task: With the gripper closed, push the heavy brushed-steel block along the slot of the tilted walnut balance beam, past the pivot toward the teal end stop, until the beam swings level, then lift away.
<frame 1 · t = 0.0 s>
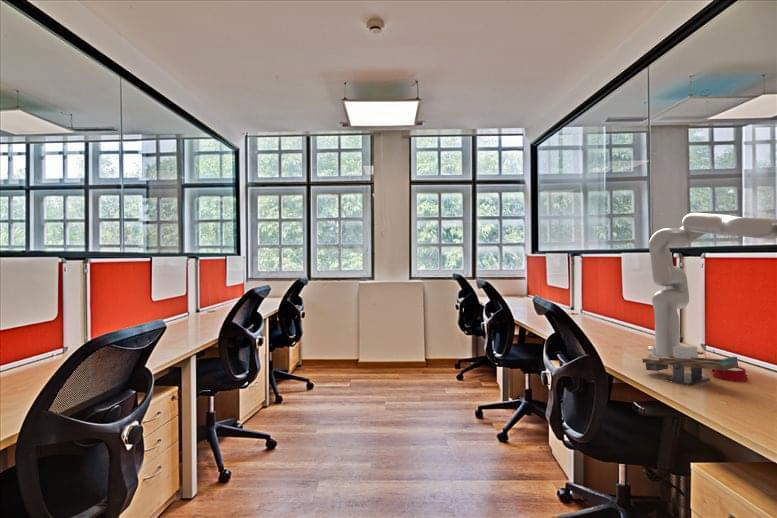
beam: (687, 363, 159), point 6 cm above the table, hinge at -6.2°, touching rider
rider: (686, 360, 159), point 7 cm above the table, tilted 6°, touching beam
stand: (687, 380, 159), on the table
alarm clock: (728, 377, 163), on the table
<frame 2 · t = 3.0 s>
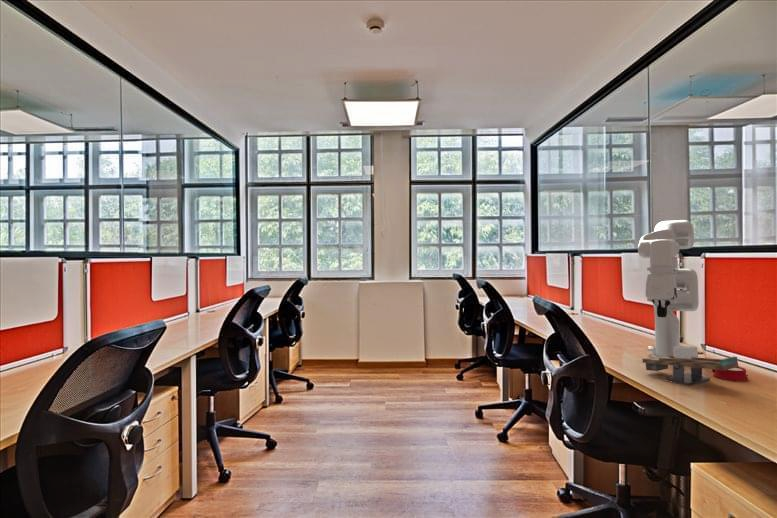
hand: (661, 316, 167), 23 cm above the table, tool pointing down, fingers closed
nothing on the table moved.
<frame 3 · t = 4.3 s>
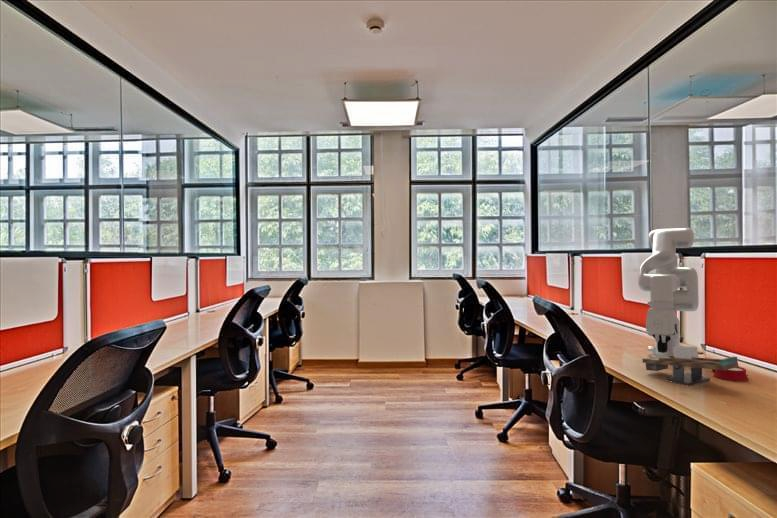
hand: (662, 352, 166), 9 cm above the table, tool pointing down, fingers closed
nothing on the table moved.
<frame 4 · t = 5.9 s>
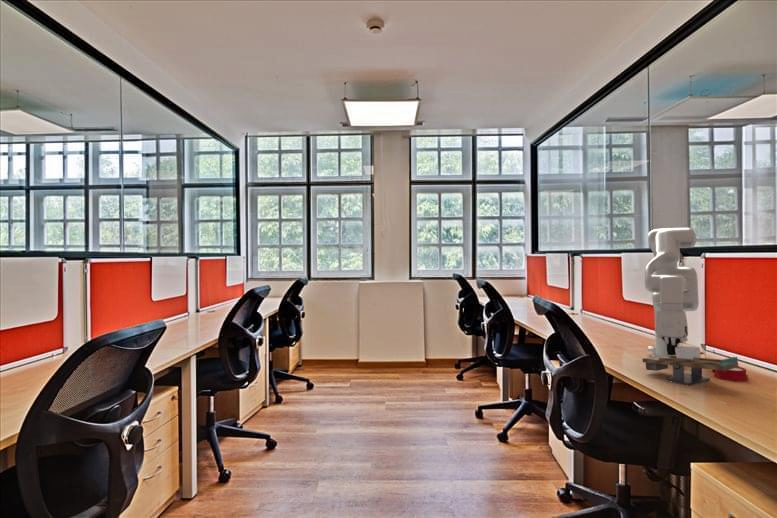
hand: (672, 354, 163), 9 cm above the table, tool pointing down, fingers closed
beam: (687, 363, 159), point 6 cm above the table, hinge at -5.6°, touching rider
rider: (688, 360, 158), point 8 cm above the table, tilted 6°, touching beam, gripper
everything else where it was.
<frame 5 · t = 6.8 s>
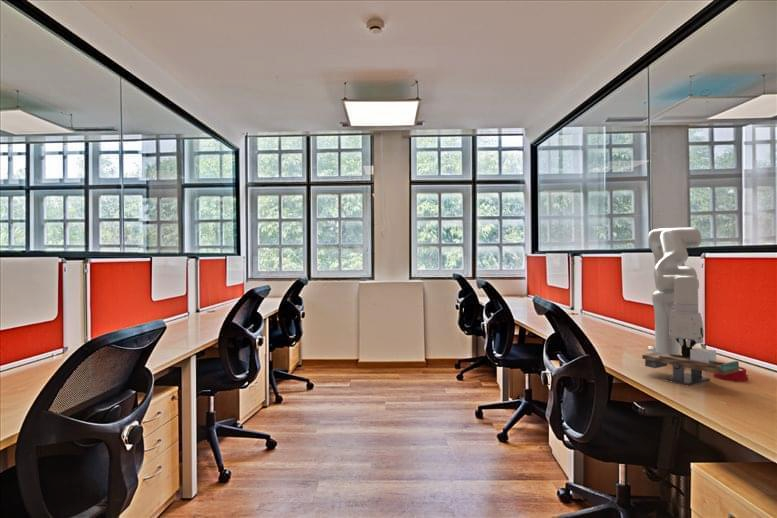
hand: (686, 356, 159), 9 cm above the table, tool pointing down, fingers closed
beam: (687, 363, 159), point 6 cm above the table, hinge at 0.2°, touching rider
rider: (703, 363, 154), point 7 cm above the table, touching beam, gripper
everything else where it was.
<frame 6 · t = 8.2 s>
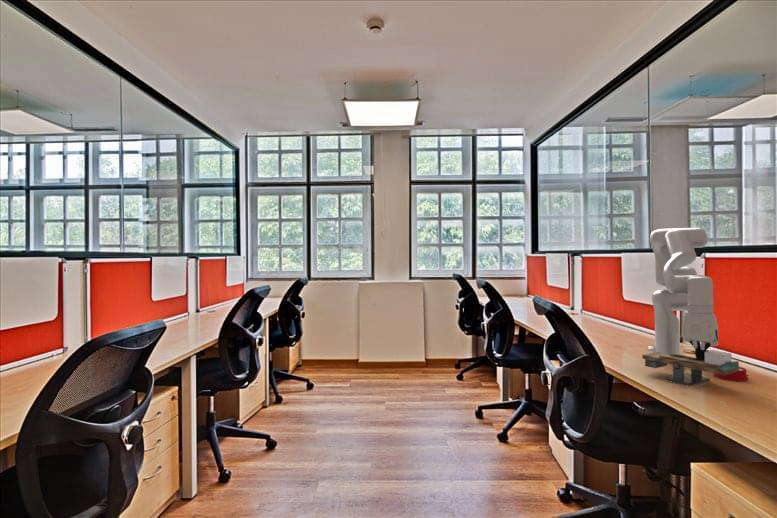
hand: (700, 359, 155), 9 cm above the table, tool pointing down, fingers closed
rider: (718, 366, 150), point 7 cm above the table, touching beam, gripper
everything else where it was.
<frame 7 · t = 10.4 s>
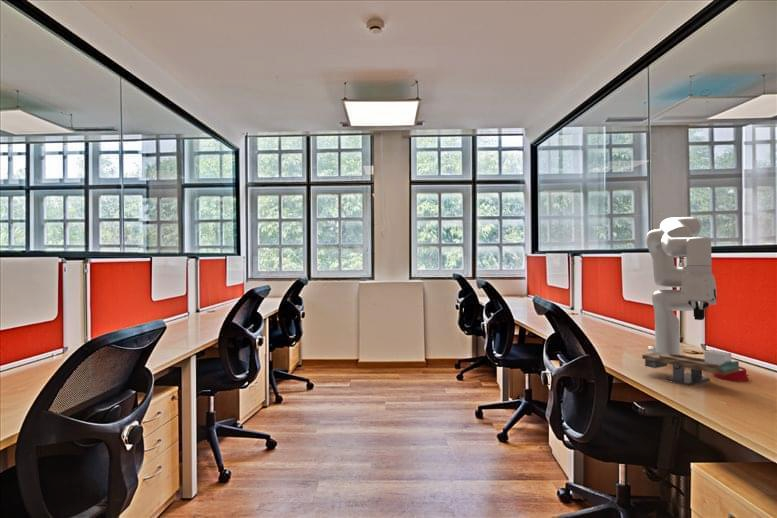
hand: (699, 319, 157), 23 cm above the table, tool pointing down, fingers closed
rider: (717, 366, 150), point 7 cm above the table, touching beam
everything else where it was.
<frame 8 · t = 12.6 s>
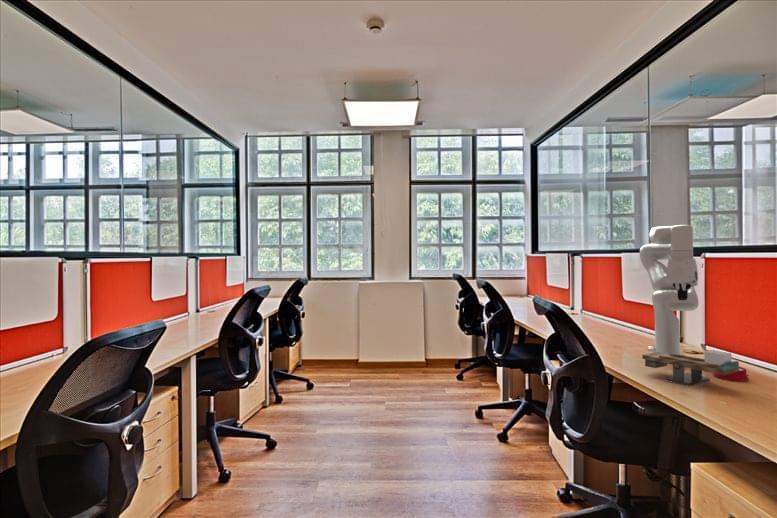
hand: (682, 299, 172), 29 cm above the table, tool pointing down, fingers closed
nothing on the table moved.
at the end: beam at +0° (first picture: -6°); rider inside the target area on the beam (1.8 cm from its centre), point 1.4 cm above the beam's base; rider tilted 0° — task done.
